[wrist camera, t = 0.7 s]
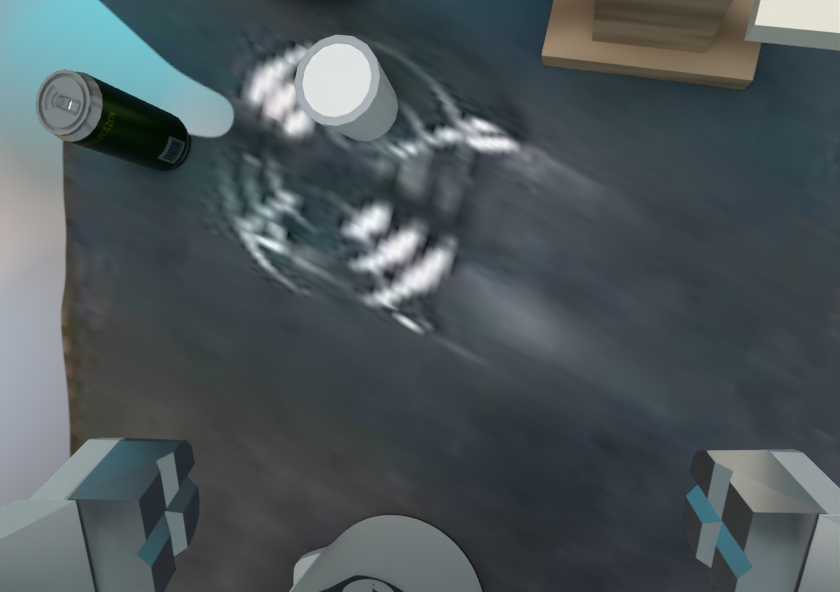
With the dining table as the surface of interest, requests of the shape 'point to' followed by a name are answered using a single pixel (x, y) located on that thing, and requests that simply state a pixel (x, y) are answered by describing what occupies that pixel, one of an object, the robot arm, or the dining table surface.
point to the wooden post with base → (655, 40)
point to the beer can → (110, 121)
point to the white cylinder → (346, 88)
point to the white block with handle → (796, 23)
